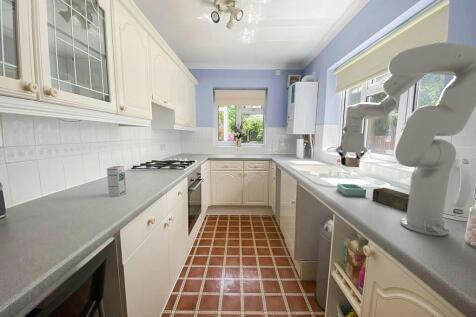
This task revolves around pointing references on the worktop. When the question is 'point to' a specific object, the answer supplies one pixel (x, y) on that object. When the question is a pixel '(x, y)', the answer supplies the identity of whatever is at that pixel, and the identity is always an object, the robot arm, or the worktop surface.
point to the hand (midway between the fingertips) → (349, 164)
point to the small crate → (351, 162)
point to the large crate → (351, 190)
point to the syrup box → (116, 181)
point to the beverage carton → (391, 198)
